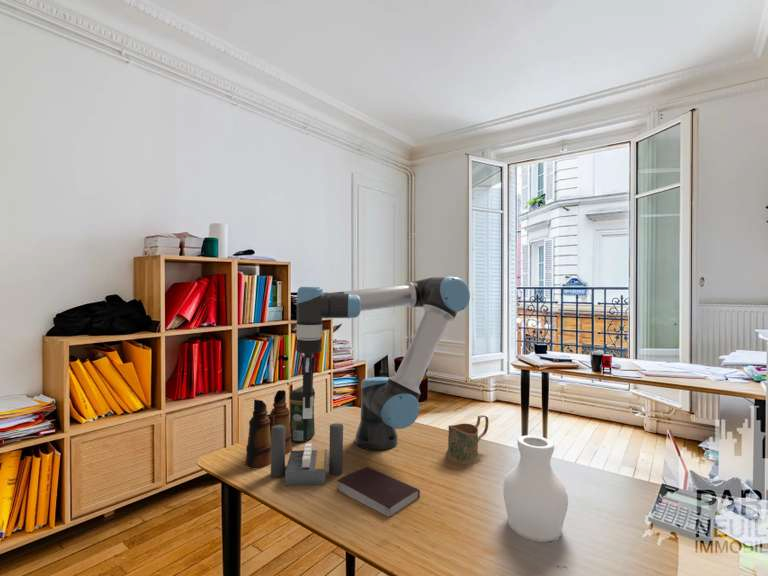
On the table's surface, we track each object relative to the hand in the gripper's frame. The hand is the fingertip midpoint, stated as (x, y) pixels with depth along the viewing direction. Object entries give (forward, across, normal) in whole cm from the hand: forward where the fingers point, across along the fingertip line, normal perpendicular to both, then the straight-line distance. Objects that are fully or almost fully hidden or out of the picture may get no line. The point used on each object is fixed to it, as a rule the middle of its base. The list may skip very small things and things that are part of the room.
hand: (307, 417), depth 117 cm
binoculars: (+17, -13, -13) cm, 25 cm away
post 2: (+17, 0, +9) cm, 19 cm away
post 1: (+17, 0, -8) cm, 19 cm away
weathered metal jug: (+17, -9, +53) cm, 56 cm away
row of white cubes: (+13, 0, 0) cm, 13 cm away
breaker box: (+17, 0, 0) cm, 17 cm away
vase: (+17, +31, +55) cm, 65 cm away
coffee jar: (+17, -28, -4) cm, 33 cm away
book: (+17, +13, +20) cm, 29 cm away
